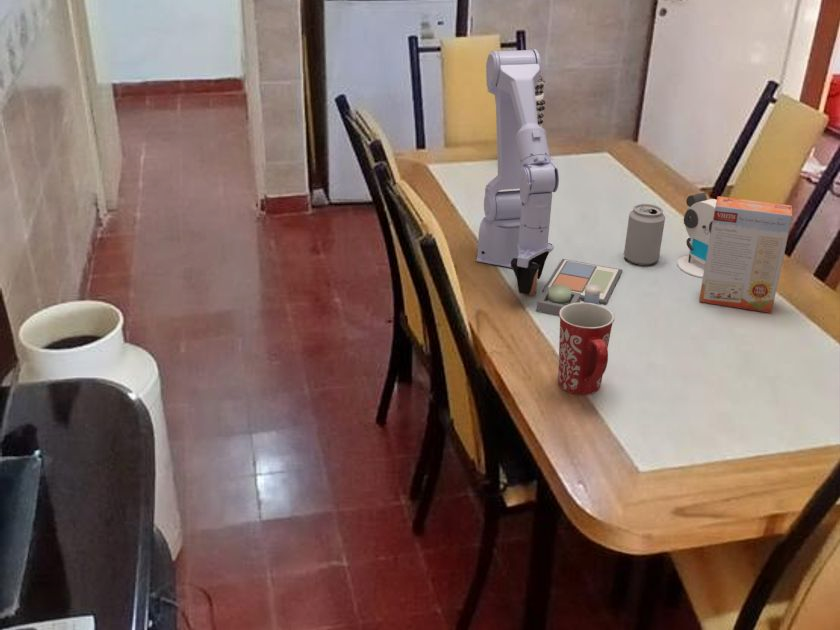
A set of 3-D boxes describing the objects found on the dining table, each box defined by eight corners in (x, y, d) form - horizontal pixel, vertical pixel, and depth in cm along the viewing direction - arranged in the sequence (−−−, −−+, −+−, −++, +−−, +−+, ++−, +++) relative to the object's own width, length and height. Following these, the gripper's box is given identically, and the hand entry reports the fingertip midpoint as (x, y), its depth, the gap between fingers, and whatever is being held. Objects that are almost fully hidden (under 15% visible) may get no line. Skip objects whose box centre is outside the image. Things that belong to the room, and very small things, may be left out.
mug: (545, 371, 165) (552, 303, 159) (594, 367, 167) (603, 299, 160) (568, 412, 154) (576, 341, 148) (620, 407, 156) (631, 337, 149)
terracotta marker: (520, 294, 191) (522, 266, 188) (524, 288, 193) (526, 261, 190) (533, 296, 190) (536, 269, 187) (537, 290, 192) (540, 263, 189)
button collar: (536, 310, 185) (537, 301, 184) (545, 295, 190) (546, 286, 189) (571, 318, 182) (572, 308, 181) (579, 302, 188) (581, 293, 187)
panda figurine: (663, 261, 206) (674, 196, 198) (701, 250, 211) (713, 187, 203) (704, 283, 197) (716, 216, 189) (743, 271, 202) (756, 206, 194)
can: (658, 268, 202) (666, 216, 196) (623, 265, 204) (630, 213, 198) (658, 254, 209) (666, 203, 203) (623, 250, 210) (630, 200, 204)
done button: (545, 301, 184) (546, 292, 183) (551, 292, 188) (552, 283, 187) (567, 306, 183) (568, 296, 182) (572, 296, 187) (573, 287, 186)
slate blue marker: (580, 317, 183) (583, 289, 180) (584, 310, 185) (587, 282, 182) (595, 320, 182) (598, 292, 179) (598, 313, 184) (602, 285, 181)
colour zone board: (542, 292, 191) (542, 288, 191) (562, 261, 204) (562, 257, 204) (606, 305, 187) (606, 300, 187) (622, 272, 200) (622, 268, 200)
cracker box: (772, 301, 190) (793, 204, 180) (771, 314, 185) (793, 215, 175) (700, 289, 194) (717, 193, 184) (697, 302, 189) (715, 204, 179)
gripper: (544, 240, 177) (539, 304, 183) (564, 213, 189) (558, 274, 195) (508, 234, 179) (504, 297, 186) (530, 207, 191) (525, 268, 198)
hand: (529, 285), depth 191 cm, fingers open, 7 cm apart
